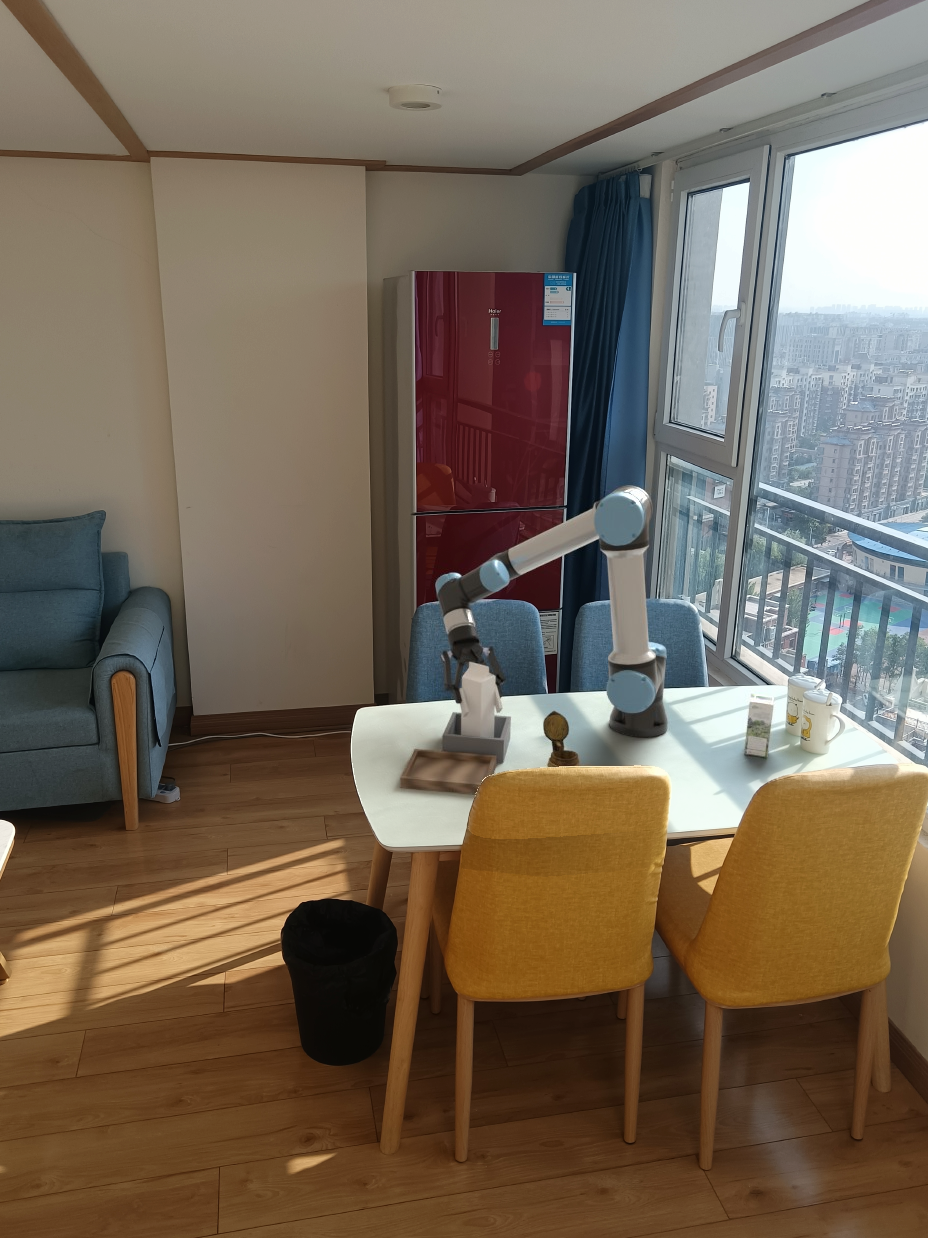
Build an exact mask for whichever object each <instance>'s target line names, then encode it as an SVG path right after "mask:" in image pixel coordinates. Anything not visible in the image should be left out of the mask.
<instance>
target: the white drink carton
mask: <svg viewBox="0 0 928 1238" xmlns="http://www.w3.org/2000/svg"><path fill="white" fill-rule="evenodd" d="M774 703H775V697H774V696H769V695H761V694H753V693H751V694H750V699H749V706H748V714H747V722H746V730H745V731H746V733H745V740H744V751H743V752H744V753H743V754H744V755H746V756H752V757H753V756H754V757H761V758H768V756H769V755H768V754H769V748H770V747H769V746H770V741H771V740H770V738H771V729H772V723H773V722H772V721H773V713H774Z"/></svg>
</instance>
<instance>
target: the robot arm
mask: <svg viewBox="0 0 928 1238" xmlns="http://www.w3.org/2000/svg"><path fill="white" fill-rule="evenodd" d="M653 510H654V508H653V501H652V499H651V497H650V496H649V494H648V493H647V492H646V491H645V490H644V489H642V488H640V487H638V486H635V485H623V486H620V487H618V488H616V489H615V490H613V491H612V492H611V493H609V494H608V495H606V496H605V497H603V498H602V499H599V500H598V501H596V502H594V504H593V507H592V508H590V509H589V510H587V511H584V512H583V513H580V514H579V515H577V516H574V517H573V518H570V519H568V520H566V521H564V522H563V523H560V524H558V525H556V526H554V527H552V528H550V529H548V530H546V531H543V532H542V533H540V534H537V535H536V536H534V537H531V538H529V539H527V540H525V541H523V542H520V543H519V544H517V545H515V546H513V547H510V548H509V549H508V550H505V551H503V552H500V553H496V554H495V555H494V554H493V556H491V557H490V558H489V559H488V560H486V561H485V562H483V563H482V564H481V565H479V566H478V567H476V568H475V569H473V570H471V571H470V572H468V573H466V574H465V575H462V574H460V573H458V572H449V573H447V574H446V573H445V574H443V575H440V577H438V578H437V579H436V580H435V581H436V582H435V590H436V598H437V600H438V603H439V607H440V610H441V614H442V618H443V623H444V627H445V631H446V634H447V640H448V643H449V646H450V647H449V648H450V651H447V650H443V651H442V652H441V655H440V660H441V662H442V665H443V681H444V682H443V684H444V691H446V692H449V691H450V692H451V694H453V697H454V700H455V703H456V704H457V705H458V704H459V705H460V706H459V707H460V710H461V711H462V715H463V717H466V716H467V714H468V713H469V711H468V707H467V703H466V699H465V695H464V691H463V688H462V687H460V685H461V681H462V676H463V669H464V666H469V662H473V663H476V664H480V665H484V666H488V667H489V665H490V667H489V673H491V674H493V675H495V710H496V714H499V713H500V712H501V711H502V710H503V704H502V700H501V699H502V697H503V691H502V688H501V686H502V685H503V684H504V682H505V681H506V676H505V674H504V672H503V669H502V667H501V665H500V663H499V661H498V659H497V657H496V655H495V647H494V646H489V647H483V646H482V645H481V641H480V638H479V633H478V631H477V628H476V622H475V620H474V616H473V612H472V607H471V605H473V604H475V603H477V602H478V601H480V600H483V599H484V598H487V597H488V596H490V595H492V594H494V593H496V592H499V591H500V590H502V589H503V588H505V587H507V586H508V585H509V583H510V581H511V580H512V581H513V579H516V578H518V577H520V576H522V575H524V574H526V573H527V572H528V573H529V572H530V571H533V570H535V569H536V568H539V567H540V566H543V565H545V564H547V563H550V562H551V561H553V560H556V559H558V558H560V557H562V556H565V555H566V554H569V553H571V552H573V551H576V550H577V549H579V548H582V547H584V546H586V545H588V544H590V543H593V542H594V541H596V540H599V549H600V550H599V551H601V552H602V553H603V554H605V555H606V560H607V574H608V575H607V577H608V588H609V589H608V590H609V603H610V617H611V618H610V619H611V631H612V632H611V633H612V642H613V643H612V645H613V646H612V647H613V650H612V652H611V653H609V655H608V656H607V661H608V674H609V675H608V680H607V682H606V695H607V699H608V701H609V703H610V704H611V705H612V706H613V707H612V710H611V713H610V715H609V727H610V728H611V729H612V730H614V732H615V731H616V732H617V733H620V734H623V735H625V736H630V737H635V738H651V737H657V736H661V735H663V734H664V733H665V732H667V730H668V725H669V724H668V723H669V720H668V717H667V713H666V708H665V705H664V700H663V699H664V689H665V678H666V676H665V675H666V673H665V672H666V664H667V663H666V661H667V659H668V656H667V648H666V647H665V646H664V645H663V644H661V643H660V644H659V643H657V642H652V641H649V628H648V627H649V625H648V611H647V596H646V595H647V594H646V580H645V563H644V562H645V561H644V553H645V552H646V551H647V549H648V548H649V546H650V543H649V541H650V540H649V538H650V537H649V523H650V520H651V519H652V516H653V512H654V511H653ZM482 654H484V656H485V657H486V659H487V661H488V664H487V663H486V662H485V659H484V657H483V656H482ZM452 658H453V659H454V660H456V661H457V662H456V666H455V668H456V669H455V674H454V679H453V683H452V671H451V670H452V668H451V666H452V665H451V659H452ZM461 711H460V712H461Z"/></svg>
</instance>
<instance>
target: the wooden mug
mask: <svg viewBox="0 0 928 1238" xmlns="http://www.w3.org/2000/svg"><path fill="white" fill-rule="evenodd" d="M542 726H543V727H542V728H543V733H544V736H545V737H546V738H547V739H548V740H550V741H551V748H552V752H551V753H550V757H549V758H548V761H547V768H548V767H559V766H580V767H581V763H580V759H579V755H578V753H577V752H576V751H573V750H567V749H565V744H564V740H565V739H566V738H567V737H568V735H569V733H570V726H569V721H568V720H567V718H566V717H565V716H564V715H563V714H561V713H560V712H558V711H555V710H553V711H551V712H550V713H548V715H547V716H546V717H545V718H544V719H543V723H542Z"/></svg>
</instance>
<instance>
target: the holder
mask: <svg viewBox="0 0 928 1238" xmlns="http://www.w3.org/2000/svg"><path fill="white" fill-rule="evenodd" d="M511 722H512V716H509V715H508V716H507V715H496V714H494V738H492V737H479V736H466V735H461V712H456V711H452V714H451V715H450V717H449V720H448V722H447V724H446V727H445V729H444V731H443V733H442V738H441V739H442V741H441V744H442V745H441V747H442V750H441V751H446V752H458V753H470V754H483V755H495V756H497V760H496V764H497V763H498V764H503V763H504V762H505V759H506V755H507V750H508V747H509V743H510V740H511V729H512V728H511V725H512V723H511Z"/></svg>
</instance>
